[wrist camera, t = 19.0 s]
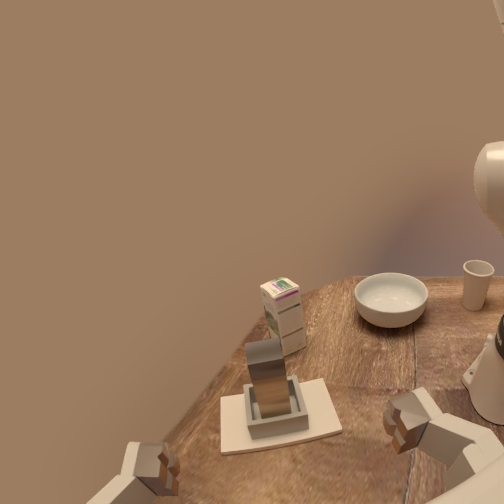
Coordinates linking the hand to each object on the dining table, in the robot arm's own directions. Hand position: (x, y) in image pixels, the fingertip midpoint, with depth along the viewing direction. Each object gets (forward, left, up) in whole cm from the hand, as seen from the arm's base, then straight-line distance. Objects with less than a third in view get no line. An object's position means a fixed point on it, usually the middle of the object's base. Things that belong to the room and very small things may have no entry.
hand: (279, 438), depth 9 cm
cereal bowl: (-48, -21, -30) cm, 60 cm away
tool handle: (-12, -20, -29) cm, 38 cm away
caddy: (-12, -20, -30) cm, 38 cm away
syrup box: (-27, -33, -30) cm, 52 cm away
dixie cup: (-63, -4, -30) cm, 70 cm away
